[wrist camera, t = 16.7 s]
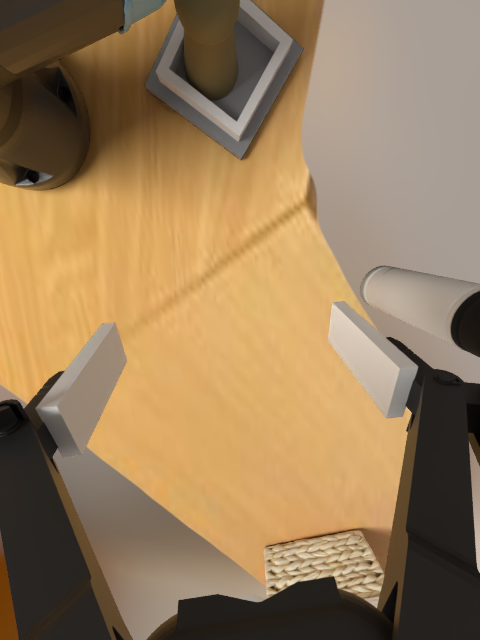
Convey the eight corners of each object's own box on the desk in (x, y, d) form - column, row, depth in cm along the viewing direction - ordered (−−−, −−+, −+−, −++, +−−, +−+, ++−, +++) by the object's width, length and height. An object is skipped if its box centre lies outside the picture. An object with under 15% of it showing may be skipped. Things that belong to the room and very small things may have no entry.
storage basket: (265, 588, 61) (278, 694, 47) (254, 541, 56) (266, 644, 42) (366, 568, 61) (409, 667, 47) (365, 520, 56) (413, 614, 42)
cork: (177, 85, 30) (153, 6, 20) (194, 22, 28) (177, -101, 18) (227, 110, 31) (230, 47, 21) (246, 50, 29) (259, -51, 19)
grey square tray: (146, 90, 31) (139, 75, 28) (203, -35, 28) (201, -66, 25) (240, 160, 34) (242, 153, 31) (301, 54, 31) (309, 35, 28)
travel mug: (377, 255, 39) (527, 277, 20) (407, 280, 40) (575, 322, 21) (349, 290, 40) (465, 342, 21) (379, 313, 42) (513, 380, 23)
